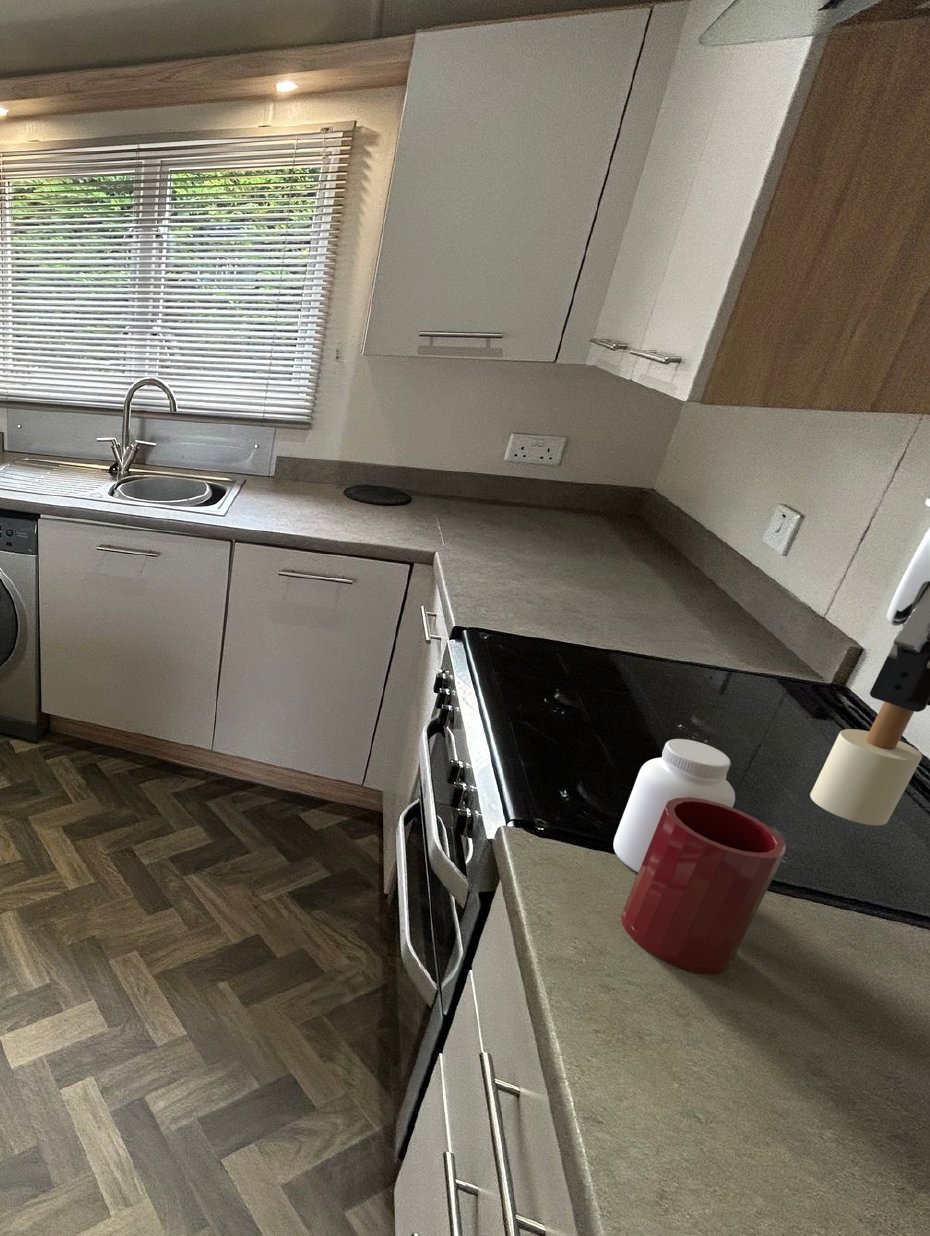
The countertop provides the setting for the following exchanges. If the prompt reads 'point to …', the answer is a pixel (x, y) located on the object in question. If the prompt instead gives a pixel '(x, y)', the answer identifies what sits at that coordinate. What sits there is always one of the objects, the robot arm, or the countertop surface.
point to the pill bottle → (670, 792)
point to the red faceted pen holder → (701, 884)
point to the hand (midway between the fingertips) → (902, 699)
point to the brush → (868, 769)
